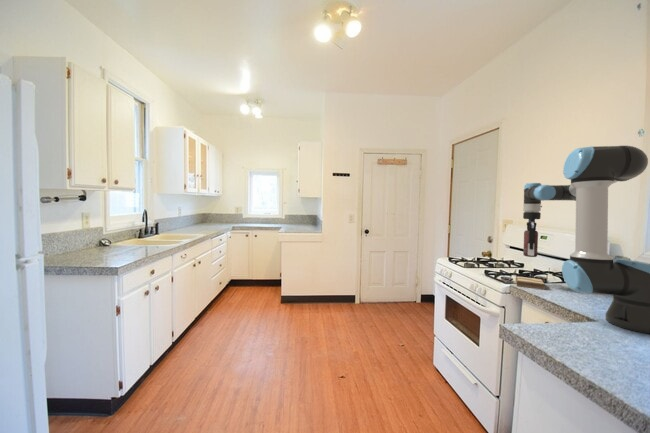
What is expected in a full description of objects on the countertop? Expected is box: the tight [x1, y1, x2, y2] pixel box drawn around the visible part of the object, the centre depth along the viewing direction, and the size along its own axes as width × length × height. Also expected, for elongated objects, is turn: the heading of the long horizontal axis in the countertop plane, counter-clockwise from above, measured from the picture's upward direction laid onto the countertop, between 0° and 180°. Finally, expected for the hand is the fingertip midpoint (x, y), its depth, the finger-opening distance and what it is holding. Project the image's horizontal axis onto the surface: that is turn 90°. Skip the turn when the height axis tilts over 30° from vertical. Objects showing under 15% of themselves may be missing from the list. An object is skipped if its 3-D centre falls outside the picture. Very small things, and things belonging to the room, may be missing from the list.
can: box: [522, 229, 539, 258], centre depth 151 cm, size 6×6×14 cm
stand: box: [515, 276, 546, 291], centre depth 151 cm, size 12×12×3 cm
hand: (530, 254), depth 150 cm, fingers open, 3 cm apart
